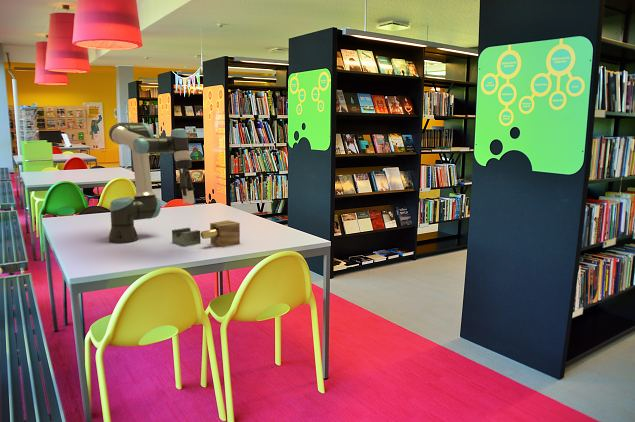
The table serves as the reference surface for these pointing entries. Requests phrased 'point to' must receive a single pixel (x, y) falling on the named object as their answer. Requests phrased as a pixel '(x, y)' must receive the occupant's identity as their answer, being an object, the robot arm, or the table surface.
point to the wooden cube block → (226, 233)
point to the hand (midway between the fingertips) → (189, 203)
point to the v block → (186, 237)
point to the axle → (210, 233)
